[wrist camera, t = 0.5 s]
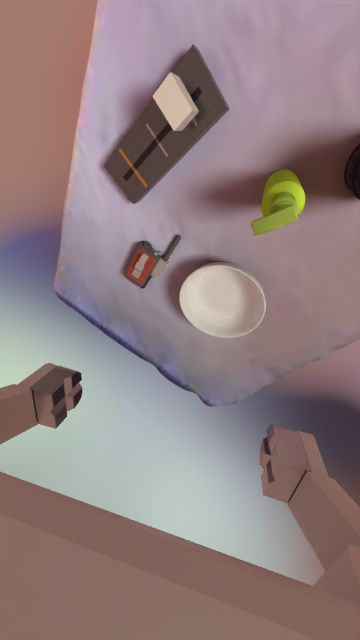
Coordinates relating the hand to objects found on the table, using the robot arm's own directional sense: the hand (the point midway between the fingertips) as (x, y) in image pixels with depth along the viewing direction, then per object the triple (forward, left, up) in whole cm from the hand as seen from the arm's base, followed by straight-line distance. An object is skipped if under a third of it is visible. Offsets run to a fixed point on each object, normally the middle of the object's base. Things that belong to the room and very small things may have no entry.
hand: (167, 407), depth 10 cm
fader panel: (+9, -17, -48) cm, 52 cm away
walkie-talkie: (+28, -1, -49) cm, 56 cm away
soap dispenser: (-4, +3, -48) cm, 48 cm away
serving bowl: (+17, +17, -48) cm, 54 cm away
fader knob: (+2, -17, -45) cm, 48 cm away
